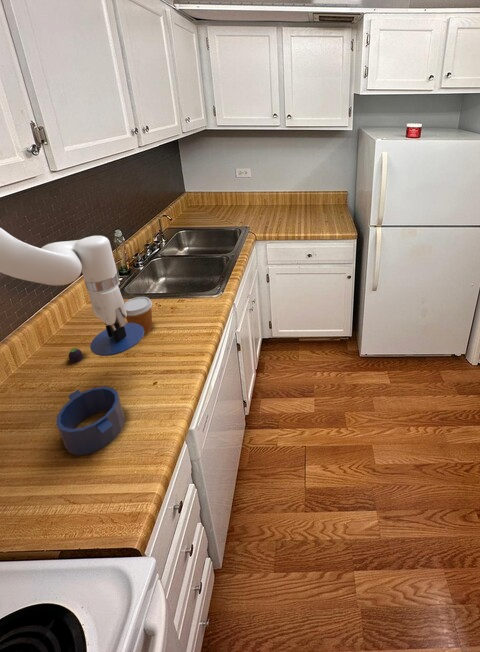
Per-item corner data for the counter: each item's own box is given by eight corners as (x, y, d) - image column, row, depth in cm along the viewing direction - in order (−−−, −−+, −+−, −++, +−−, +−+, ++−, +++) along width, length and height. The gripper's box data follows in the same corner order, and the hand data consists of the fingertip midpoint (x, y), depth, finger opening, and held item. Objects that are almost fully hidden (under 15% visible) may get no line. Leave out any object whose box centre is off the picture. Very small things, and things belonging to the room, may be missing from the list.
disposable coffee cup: (122, 335, 118) (114, 307, 113) (145, 320, 126) (139, 293, 121) (140, 343, 114) (133, 314, 109) (163, 327, 122) (157, 300, 117)
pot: (85, 475, 74) (76, 449, 71) (52, 432, 83) (43, 407, 80) (140, 431, 84) (134, 407, 81) (105, 398, 93) (98, 374, 90)
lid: (105, 365, 87) (100, 346, 85) (82, 344, 94) (76, 327, 92) (154, 336, 98) (150, 319, 95) (129, 320, 105) (125, 304, 102)
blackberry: (73, 367, 104) (69, 355, 102) (69, 362, 105) (65, 350, 104) (85, 360, 106) (82, 348, 105) (80, 356, 108) (77, 344, 106)
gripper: (73, 278, 90) (90, 333, 97) (102, 297, 81) (118, 356, 88) (102, 267, 96) (116, 320, 102) (132, 284, 87) (145, 340, 94)
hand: (117, 336), depth 95 cm, fingers closed on lid, 2 cm apart
